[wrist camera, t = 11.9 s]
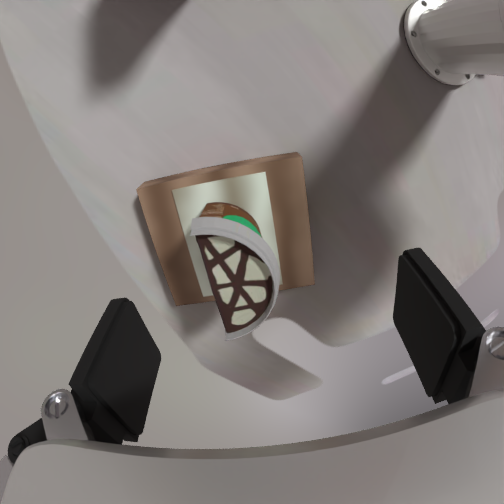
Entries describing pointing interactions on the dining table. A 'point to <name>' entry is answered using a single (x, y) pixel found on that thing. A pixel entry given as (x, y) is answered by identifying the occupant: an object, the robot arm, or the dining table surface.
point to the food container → (237, 266)
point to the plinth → (242, 195)
